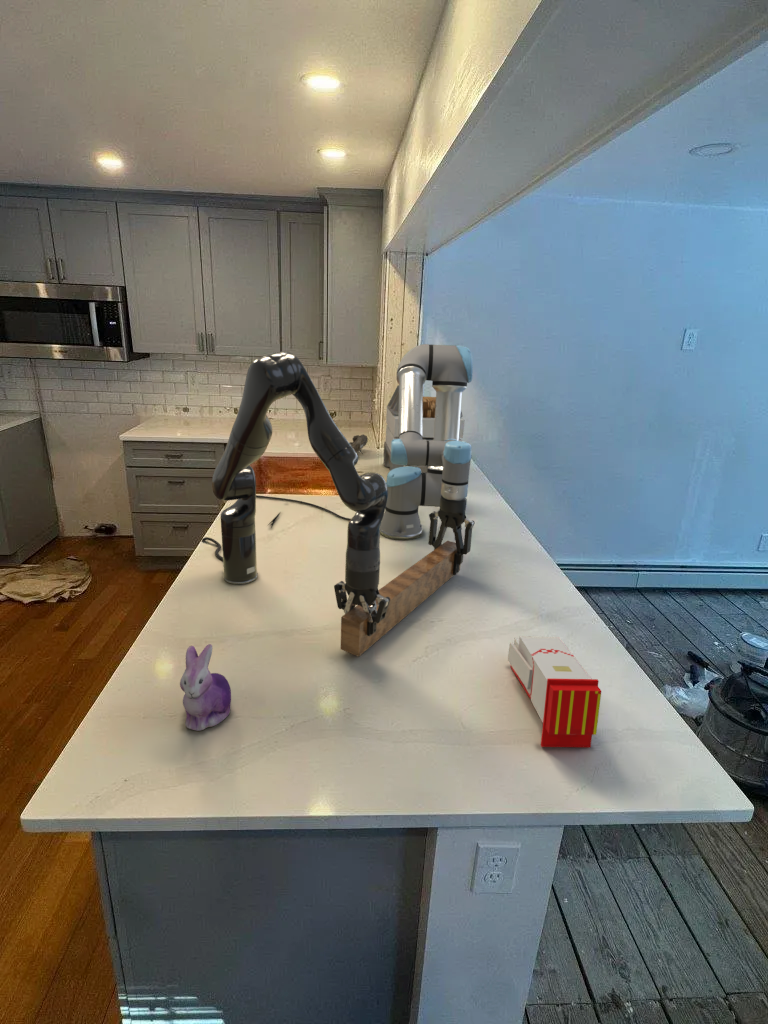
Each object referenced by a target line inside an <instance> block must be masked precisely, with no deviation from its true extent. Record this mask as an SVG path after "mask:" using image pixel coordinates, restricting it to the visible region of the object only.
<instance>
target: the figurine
mask: <svg viewBox="0 0 768 1024" xmlns="http://www.w3.org/2000/svg"><path fill="white" fill-rule="evenodd" d="M213 649H214V648H213V645H212V644H211V643H208V644H206V646H204V648H203V649H202V651H201V652H200V653H199V655H198V651H197V650H196V647H195V646H194V645H190V646H188V647H187V648H186V652H185V659H184V660H185V669H184V672H183V673H182V675H181V678H180V681H179V687H180V690H181V691H182V692H183V693H184V694H183V697H182V705H183V708H184V711H185V714H186V718H185V722H184V723H185V727H186V728H187V729H189V730H194V731H198V732H199V731H204V730H205V729H207V728H213V727H215V726H217V725H219V724H220V723H221V722H222V721H224V720H225V719H227V717H229V715H230V712H231V705H232V689H231V686H230V683H229V681H228V679H227V678H226V677H225V676H224V675H222V674H221V673H219V672H218V673H217V672H212V673H211V671H210V669H209V665H210V662H211V658H212V654H213Z"/></svg>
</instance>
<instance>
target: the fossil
mask: <svg viewBox="0 0 768 1024" xmlns="http://www.w3.org/2000/svg"><path fill="white" fill-rule="evenodd" d="M368 439H369V438H368V436H367V435H365V434H361V435H359V434H356V435H353V437H352V441H350V442H349V443H350V445H351V446H352V447H353V449H354V450H355V451H356V453H357V454H358V453H359V452H360V454H361V455H364V454H363V452H362V450H363V448H364V447H366V445H367V443H368V441H369V440H368Z"/></svg>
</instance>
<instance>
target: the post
mask: <svg viewBox="0 0 768 1024" xmlns="http://www.w3.org/2000/svg"><path fill="white" fill-rule="evenodd" d="M441 544H442V545H440V546H439V547H438V548H436V549H435V550H434V549H433V550H432V551H431V552H430V553H428V554H427V555H425V556H424V557H422V558H420V560H418V561H417V562H415V563H414V564H412V565H411V566H410V567H408V568H407V569H406V570H404V571H403V572H401V573H400V574H399V575H397V576H396V577H395V578H393V579H391V580H390V581H389V582H388V583H386V584H384V585H383V586H382V587H380V589H379V588H378V590H379V594H380V595H381V596H383V597H387V596H388V597H389V598H390V603H389V606H388V609H387V613H386V616H385V618H384V619H382V620H381V621H380V622H379V623H377V626H376V632H375V633H374V634H373V635H371V636H367V622H368V618H367V615H366V613H364V610H363V607H361V606H360V605H355V607H354V608H353V609H352V610H350V611H349V612H348V613H346V614H345V613H344V614H343V615H342V616H341V617H340V650H341V651H344V652H346V653H348V654H351V655H353V656H356V657H360V656H362V655H363V654H364V653H365V652H366V651H367V650H368V649H369V648H371V647H372V646H373V645H374V644H375V643H376V642H378V641H379V640H380V639H381V638H383V636H385V635H386V634H387V633H388V632H390V630H392V629H393V628H394V627H395V626H396V625H397V624H399V623H400V622H401V621H402V620H403V619H405V618H406V617H407V616H409V614H411V613H412V612H413V611H415V609H416V608H417V607H419V606H420V605H421V604H422V603H423V602H425V601H426V600H427V599H428V598H429V597H430V596H431V595H433V594H434V593H435V592H436V591H438V590H439V589H440V588H441V587H442V586H443V585H445V583H447V582H448V581H449V580H450V579H451V578H453V577H454V576H455V575H453V566H454V555H455V554H456V553H457V549H456V542H455V541H451V540H446V541H444V542H442V543H441ZM461 565H462V564H460V565H459V571H461ZM375 601H376V605H377V604H378V601H377V599H376V600H375ZM369 607H370V606H369ZM378 607H379V606H378V605H377V608H376V610H377V611H378Z"/></svg>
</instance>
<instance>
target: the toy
mask: <svg viewBox="0 0 768 1024" xmlns="http://www.w3.org/2000/svg"><path fill="white" fill-rule="evenodd" d="M507 662H508V663H509V665H510V669H511V671H512V672H513V674H514V675H515V677H516V678H517V680H518V681H519V683H520V684H521V686H522V688H523V690H524V692H525V693H526V695H527V696H528V698H529V699H530V702H531V703H532V706H533V707H534V709H535V711H536V713H537V715H538V716H539V718H540V721H541V722H542V729H541V739H540V746H541V748H591V747H592V738H593V736H597V730H598V722H599V713H600V707H601V698H602V690H601V688H600V687H599V683H600V681H599V679H597V678H596V679H595V678H592V676H590V674H589V673H588V672H587V671H586V669H585V668H584V667H583V666H582V664H581V663H580V662H579V660H578V659H577V658H576V657H575V655H574V654H573V653H572V651H571V650H570V649H569V648H568V646H567V645H566V644H565V642H564V641H563V640H562V639H561V637H560V636H527V635H526V636H523V635H522V636H521V635H519V637H514V640H513V641H511V642H509V647H508V652H507Z"/></svg>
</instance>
